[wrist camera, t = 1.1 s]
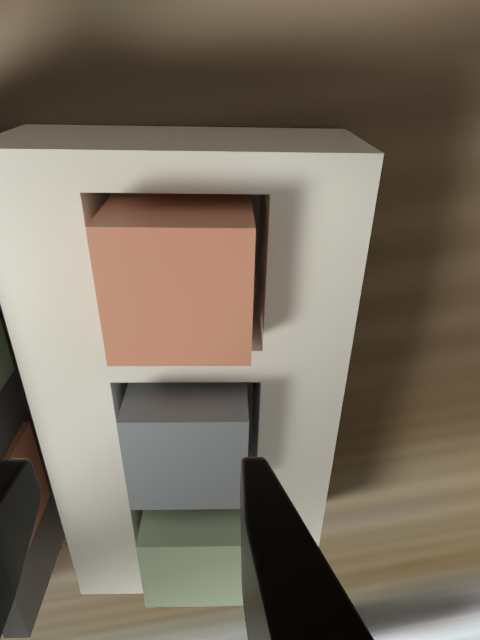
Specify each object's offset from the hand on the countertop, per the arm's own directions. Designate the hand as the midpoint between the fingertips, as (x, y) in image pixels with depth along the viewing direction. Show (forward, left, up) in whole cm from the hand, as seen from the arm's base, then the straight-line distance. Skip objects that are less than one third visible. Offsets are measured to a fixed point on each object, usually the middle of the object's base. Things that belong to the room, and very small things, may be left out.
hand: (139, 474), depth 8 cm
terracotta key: (0, 0, -10) cm, 10 cm away
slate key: (-7, 0, -10) cm, 13 cm away
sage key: (-14, 0, -10) cm, 17 cm away
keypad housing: (-7, +2, -13) cm, 15 cm away
